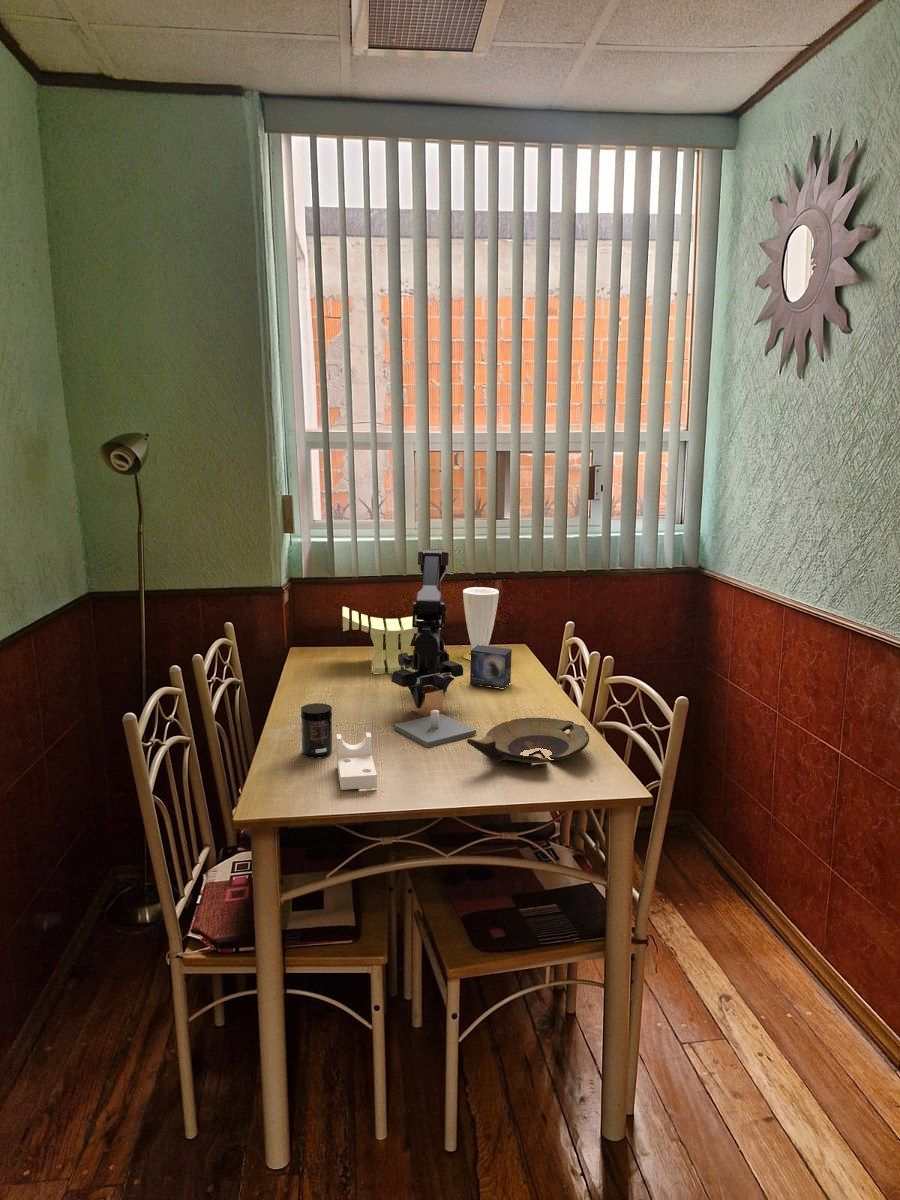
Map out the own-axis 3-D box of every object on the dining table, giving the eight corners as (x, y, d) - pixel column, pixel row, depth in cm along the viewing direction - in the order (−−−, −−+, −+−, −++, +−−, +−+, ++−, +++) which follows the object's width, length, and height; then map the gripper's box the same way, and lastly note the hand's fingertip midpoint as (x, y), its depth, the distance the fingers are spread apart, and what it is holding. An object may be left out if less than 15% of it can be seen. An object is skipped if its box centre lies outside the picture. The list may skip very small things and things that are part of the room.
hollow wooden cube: (430, 706, 211) (430, 684, 209) (442, 712, 206) (443, 689, 205) (412, 710, 207) (412, 688, 206) (424, 716, 203) (425, 693, 202)
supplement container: (325, 745, 183) (324, 701, 181) (337, 755, 178) (337, 710, 176) (297, 751, 180) (295, 706, 178) (308, 761, 174) (307, 715, 172)
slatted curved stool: (438, 658, 257) (439, 603, 253) (444, 672, 241) (445, 614, 238) (343, 660, 253) (342, 604, 249) (343, 674, 237) (342, 615, 234)
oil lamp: (608, 770, 172) (610, 736, 170) (472, 782, 165) (473, 747, 163) (568, 733, 193) (570, 702, 192) (446, 742, 186) (447, 711, 185)
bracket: (336, 768, 172) (336, 734, 170) (370, 766, 173) (370, 732, 171) (340, 794, 159) (340, 757, 158) (376, 791, 160) (376, 755, 159)
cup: (498, 661, 254) (500, 594, 249) (461, 661, 254) (462, 593, 249) (496, 652, 265) (498, 587, 261) (461, 651, 265) (462, 586, 261)
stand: (441, 718, 202) (441, 698, 201) (476, 734, 191) (476, 713, 190) (393, 729, 194) (394, 708, 193) (427, 747, 183) (427, 725, 182)
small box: (468, 685, 229) (469, 649, 227) (476, 679, 235) (477, 644, 233) (504, 690, 225) (505, 653, 223) (511, 683, 231) (512, 648, 229)
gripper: (439, 635, 215) (438, 691, 218) (379, 644, 204) (379, 703, 207) (465, 644, 206) (464, 702, 210) (403, 654, 196) (403, 716, 199)
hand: (427, 705), depth 207 cm, fingers closed on hollow wooden cube, 6 cm apart
